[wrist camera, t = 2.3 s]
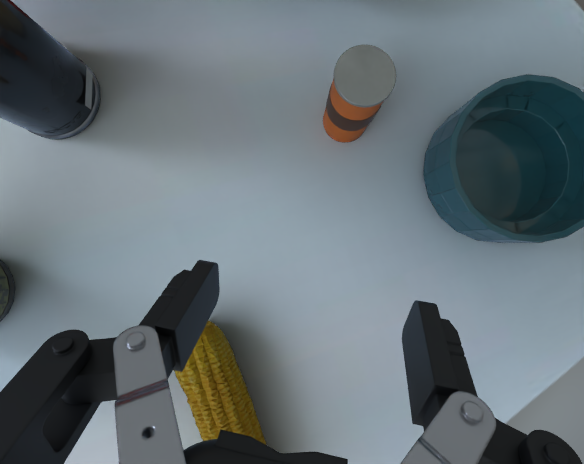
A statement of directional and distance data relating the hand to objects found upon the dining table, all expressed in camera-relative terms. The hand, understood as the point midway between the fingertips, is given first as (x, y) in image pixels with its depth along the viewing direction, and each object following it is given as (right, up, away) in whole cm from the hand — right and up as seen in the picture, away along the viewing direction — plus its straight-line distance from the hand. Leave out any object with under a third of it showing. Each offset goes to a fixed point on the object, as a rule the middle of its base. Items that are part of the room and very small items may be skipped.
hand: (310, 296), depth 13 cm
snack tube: (+5, +15, +23) cm, 28 cm away
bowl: (+21, +9, +23) cm, 32 cm away
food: (-7, -16, +22) cm, 28 cm away
